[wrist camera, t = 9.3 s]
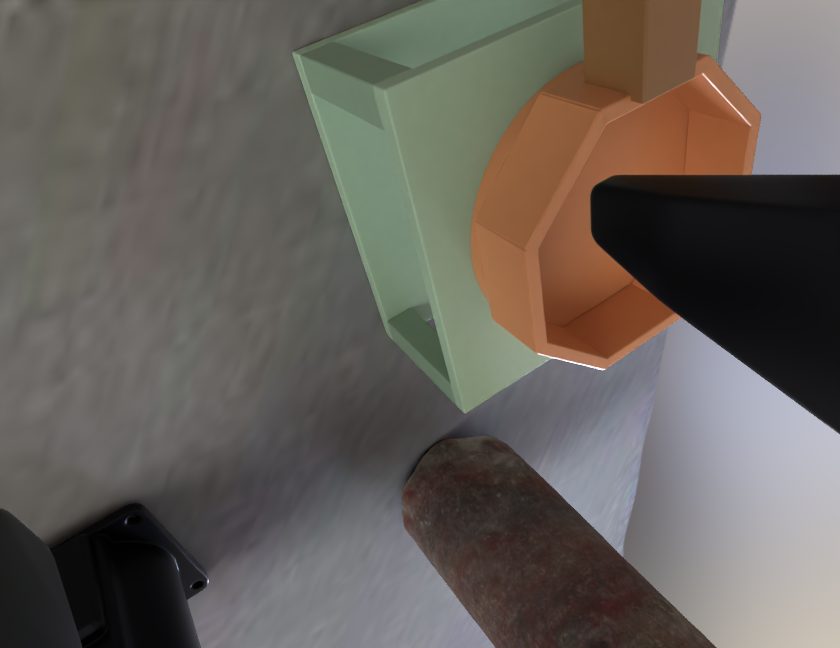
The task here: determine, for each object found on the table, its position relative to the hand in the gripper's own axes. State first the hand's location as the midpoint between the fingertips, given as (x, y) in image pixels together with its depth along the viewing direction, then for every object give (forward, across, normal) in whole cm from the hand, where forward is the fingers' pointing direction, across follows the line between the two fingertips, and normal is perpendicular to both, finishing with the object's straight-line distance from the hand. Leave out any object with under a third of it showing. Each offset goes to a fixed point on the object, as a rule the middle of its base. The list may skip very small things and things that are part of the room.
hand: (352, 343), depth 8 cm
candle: (+13, -6, +23) cm, 27 cm away
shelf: (+13, -11, +5) cm, 17 cm away
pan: (+7, -10, +2) cm, 12 cm away
